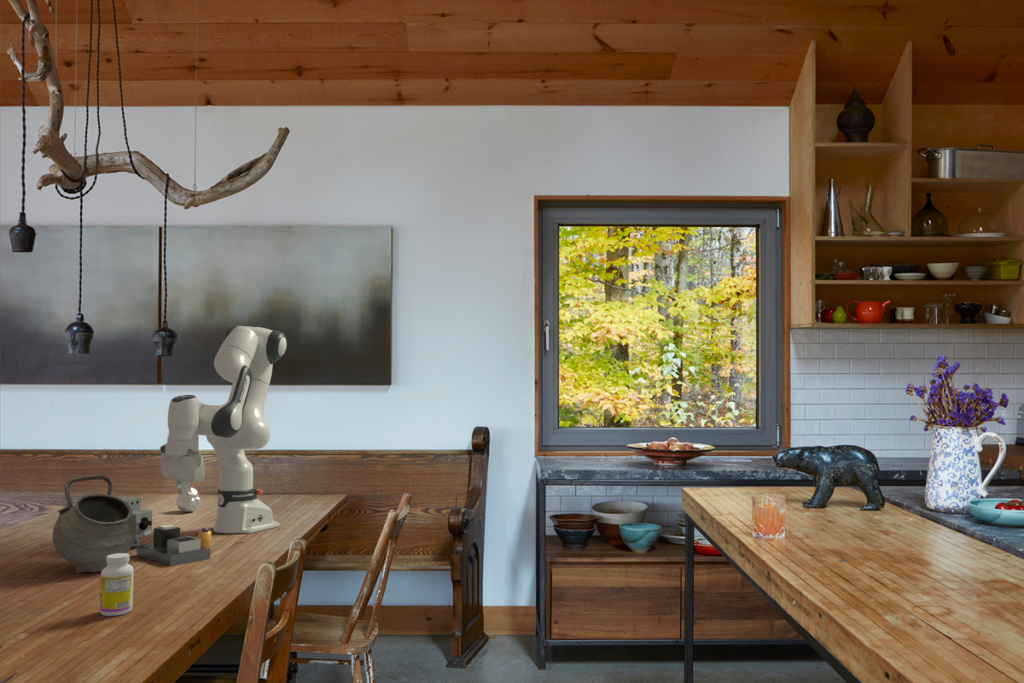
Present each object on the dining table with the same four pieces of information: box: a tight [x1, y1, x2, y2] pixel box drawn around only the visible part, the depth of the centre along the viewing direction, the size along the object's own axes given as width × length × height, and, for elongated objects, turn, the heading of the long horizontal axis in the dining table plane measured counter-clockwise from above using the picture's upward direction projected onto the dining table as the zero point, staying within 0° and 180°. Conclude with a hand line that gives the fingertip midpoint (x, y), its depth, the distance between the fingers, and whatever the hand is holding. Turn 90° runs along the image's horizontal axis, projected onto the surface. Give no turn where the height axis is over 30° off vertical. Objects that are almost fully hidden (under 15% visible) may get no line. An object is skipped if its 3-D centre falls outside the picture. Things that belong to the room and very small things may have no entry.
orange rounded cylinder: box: [198, 527, 212, 552], centre depth 234 cm, size 4×4×7 cm
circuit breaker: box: [117, 496, 153, 548], centre depth 237 cm, size 8×14×15 cm, turn 78°
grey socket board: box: [136, 526, 211, 567], centre depth 226 cm, size 12×20×8 cm, turn 52°
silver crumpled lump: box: [175, 486, 202, 513], centre depth 299 cm, size 9×10×10 cm
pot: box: [51, 473, 136, 574], centre depth 213 cm, size 21×21×25 cm
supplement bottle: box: [99, 552, 135, 617], centre depth 173 cm, size 7×7×13 cm
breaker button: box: [157, 524, 177, 530], centre depth 228 cm, size 4×4×5 cm
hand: (182, 494), depth 231 cm, fingers closed
